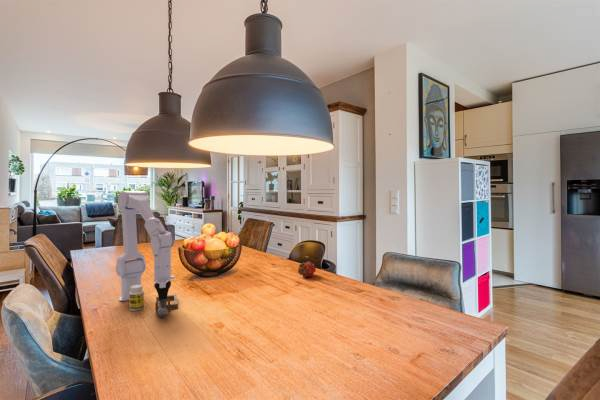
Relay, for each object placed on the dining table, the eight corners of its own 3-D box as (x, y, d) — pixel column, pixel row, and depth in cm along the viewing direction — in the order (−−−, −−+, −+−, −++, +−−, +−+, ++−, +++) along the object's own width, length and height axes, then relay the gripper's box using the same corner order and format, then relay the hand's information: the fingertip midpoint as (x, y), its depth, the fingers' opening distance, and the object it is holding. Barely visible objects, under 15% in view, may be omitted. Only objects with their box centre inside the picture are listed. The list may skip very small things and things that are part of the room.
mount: (156, 300, 121) (156, 290, 121) (176, 298, 124) (176, 288, 124) (155, 313, 108) (155, 302, 108) (177, 310, 111) (177, 299, 111)
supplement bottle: (127, 311, 110) (127, 288, 110) (131, 307, 115) (130, 284, 115) (142, 310, 111) (141, 287, 111) (145, 305, 116) (144, 283, 116)
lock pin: (158, 306, 111) (158, 297, 111) (167, 305, 113) (167, 296, 113) (157, 319, 100) (157, 309, 100) (168, 317, 101) (167, 308, 101)
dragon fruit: (300, 282, 151) (309, 280, 162) (314, 274, 149) (322, 271, 160) (292, 267, 154) (301, 266, 165) (305, 259, 152) (313, 258, 163)
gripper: (174, 268, 108) (175, 306, 108) (173, 260, 121) (174, 294, 121) (152, 270, 105) (153, 309, 105) (154, 262, 118) (154, 297, 118)
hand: (163, 302), depth 113 cm, fingers closed
